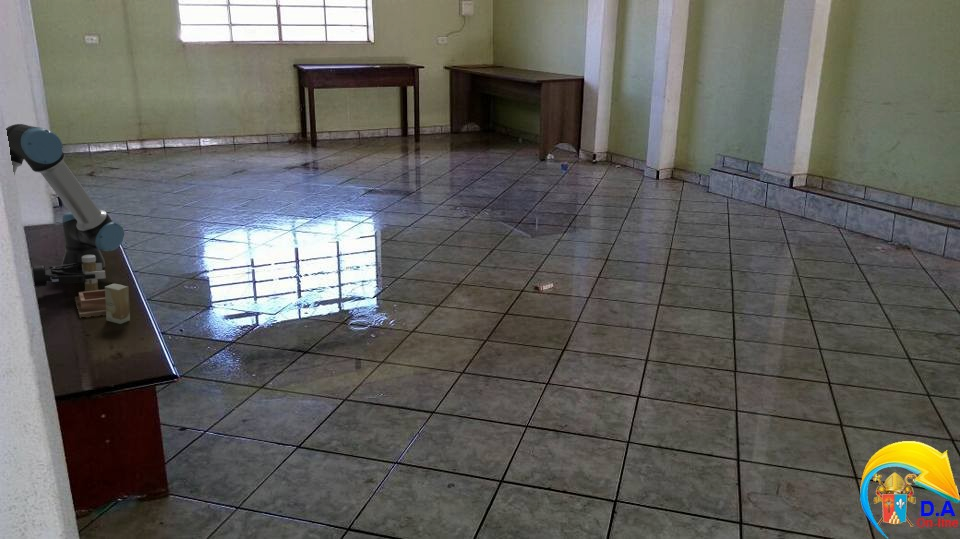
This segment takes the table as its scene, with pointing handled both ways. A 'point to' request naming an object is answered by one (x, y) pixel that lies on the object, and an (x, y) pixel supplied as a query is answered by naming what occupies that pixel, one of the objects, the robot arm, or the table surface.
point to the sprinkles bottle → (90, 266)
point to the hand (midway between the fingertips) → (103, 270)
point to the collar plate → (91, 303)
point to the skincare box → (117, 303)
